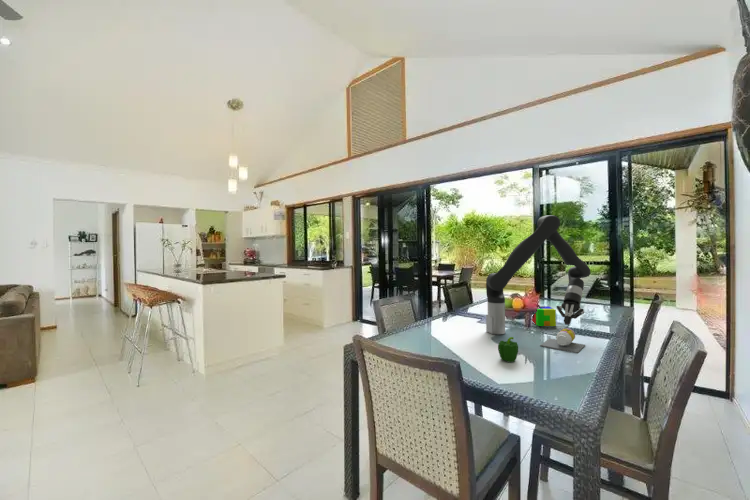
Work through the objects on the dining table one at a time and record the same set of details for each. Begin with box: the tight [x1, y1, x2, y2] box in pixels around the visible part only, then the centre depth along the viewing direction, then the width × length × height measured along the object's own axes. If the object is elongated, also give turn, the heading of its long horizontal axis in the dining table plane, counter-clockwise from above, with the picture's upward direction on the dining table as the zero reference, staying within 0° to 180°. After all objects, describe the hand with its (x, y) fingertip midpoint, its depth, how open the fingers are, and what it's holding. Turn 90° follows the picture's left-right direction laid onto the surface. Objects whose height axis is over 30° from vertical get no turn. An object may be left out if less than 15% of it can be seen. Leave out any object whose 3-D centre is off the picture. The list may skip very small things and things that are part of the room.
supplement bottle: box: [555, 327, 576, 346], centre depth 164 cm, size 7×7×13 cm
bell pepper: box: [497, 336, 519, 363], centre depth 146 cm, size 8×8×10 cm
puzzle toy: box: [531, 305, 557, 327], centre depth 204 cm, size 10×10×10 cm
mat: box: [539, 338, 586, 354], centre depth 164 cm, size 14×16×1 cm
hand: (566, 323), depth 168 cm, fingers closed
